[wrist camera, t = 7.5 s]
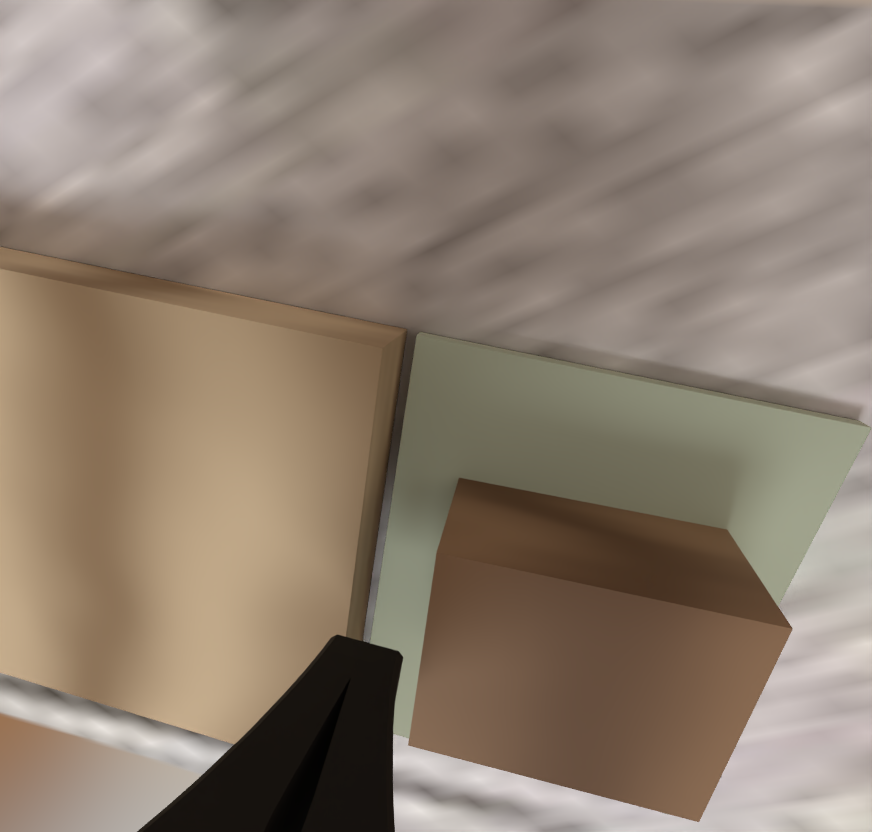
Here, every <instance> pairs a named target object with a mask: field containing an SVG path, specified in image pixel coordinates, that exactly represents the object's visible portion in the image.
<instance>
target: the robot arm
mask: <svg viewBox="0 0 872 832" xmlns="http://www.w3.org/2000/svg"><path fill="white" fill-rule="evenodd" d="M402 662H403V656H402V655H401V653H400V652H399V651H397V650H393V649H389V648H386V647H382V646H378V645H375V644H371V643H367V642H363V641H360V640H356V639H352V638H349V637H345V636H341V635H335V636H333V637H331V638H330V640H329V641H328V642H327V644H326V645H325V646H324V647H323V649H322V650H321V651H320V653H319V654H318V655H317V656H316V657H315V659H314V660H313V661H312V662H311V664H310V665H309V666H308V667H307V668H306V669H305V671H304V672H303V673H302V674H301V675H300V676H299V677H298V679H297V680H296V681H295V682H294V683H293V684H292V685H291V686H290V688H289V689H288V690H287V691H286V692H285V693H284V694H283V695H282V696H281V697H280V698H279V700H278V701H277V702H276V703H275V704H274V705H273V706H272V707H271V708H270V709H269V710H268V711H267V712H266V713H265V714H264V715H263V716H262V717H261V718H260V719H259V721H258V722H257V723H256V724H255V725H254V726H253V727H252V728H251V729H250V730H249V731H248V732H247V733H246V734H245V735H244V736H243V737H242V738H241V739H240V740H239V741H238V742H236V743H235V744H234V745H233V746H232V747H231V748H230V749H229V750H228V751H227V752H226V753H225V754H224V755H223V756H222V757H221V758H220V759H219V760H218V761H217V762H216V763H214V764H213V765H212V766H211V767H210V768H209V769H208V770H207V771H206V772H205V773H204V774H203V775H202V776H201V777H200V778H199V779H198V780H196V781H195V782H194V783H193V784H192V785H191V786H190V787H189V788H187V789H186V791H184V792H183V793H182V794H181V795H180V796H178V797H177V798H176V799H175V800H174V801H173V802H172V803H170V804H169V805H168V806H167V807H166V808H165V809H163V810H162V811H161V812H160V813H159V814H158V815H156V816H155V817H154V818H153V819H152V820H150V821H149V822H148V823H147V824H146V825H145V826H143V827H142V828H141V829H140V830H139V831H137V832H395V827H394V807H393V724H394V710H395V700H396V694H397V689H398V684H399V678H400V673H401V667H402Z"/></svg>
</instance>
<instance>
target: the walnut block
mask: <svg viewBox="0 0 872 832" xmlns="http://www.w3.org/2000/svg"><path fill="white" fill-rule="evenodd" d="M791 631H792V627H791V626H790V624H789V623H788V621H787V620H786V618H785V616H784V615H783V613H782V612H781V610H780V609H779V607H778V606H777V604H776V603H775V601H774V600H773V598H772V597H771V595H770V594H769V592H768V591H767V589H766V588H765V586H764V585H763V583H762V582H761V580H760V578H759V577H758V575H757V574H756V572H755V571H754V569H753V568H752V566H751V565H750V563H749V562H748V560H747V559H746V557H745V556H744V554H743V553H742V551H741V550H740V548H739V547H738V545H737V544H736V542H735V540H734V539H733V537H732V536H731V534H730V533H729V531H728V530H727V529H722V528H717V527H711V526H706V525H701V524H696V523H691V522H686V521H681V520H675V519H670V518H665V517H660V516H655V515H650V514H644V513H639V512H634V511H629V510H624V509H619V508H614V507H608V506H603V505H598V504H593V503H588V502H583V501H577V500H572V499H567V498H562V497H557V496H552V495H547V494H541V493H536V492H531V491H526V490H521V489H516V488H510V487H505V486H500V485H495V484H490V483H485V482H480V481H474V480H469V479H464V478H459V479H458V483H457V486H456V489H455V493H454V496H453V499H452V503H451V506H450V509H449V513H448V516H447V519H446V523H445V526H444V529H443V533H442V536H441V539H440V543H439V546H438V549H437V553H436V559H435V566H434V573H433V580H432V587H431V593H430V600H429V607H428V614H427V621H426V627H425V634H424V641H423V648H422V655H421V662H420V668H419V675H418V682H417V689H416V696H415V702H414V709H413V716H412V723H411V730H410V736H409V743H408V745H409V746H413V747H416V748H420V749H424V750H428V751H432V752H435V753H439V754H443V755H447V756H451V757H454V758H458V759H462V760H466V761H469V762H473V763H477V764H481V765H485V766H488V767H492V768H496V769H500V770H504V771H507V772H511V773H515V774H519V775H523V776H526V777H530V778H534V779H538V780H541V781H545V782H549V783H553V784H557V785H560V786H564V787H568V788H572V789H576V790H579V791H583V792H587V793H591V794H595V795H598V796H602V797H606V798H610V799H613V800H617V801H621V802H625V803H629V804H632V805H636V806H640V807H644V808H648V809H651V810H655V811H659V812H663V813H667V814H670V815H674V816H678V817H682V818H686V819H689V820H693V821H697V822H699V821H700V819H701V817H702V814H703V812H704V810H705V808H706V806H707V804H708V802H709V800H710V798H711V796H712V794H713V792H714V790H715V788H716V786H717V784H718V782H719V779H720V777H721V775H722V773H723V771H724V769H725V767H726V765H727V763H728V761H729V759H730V757H731V755H732V753H733V751H734V749H735V747H736V744H737V742H738V740H739V738H740V736H741V734H742V732H743V730H744V728H745V726H746V724H747V722H748V720H749V718H750V716H751V714H752V711H753V709H754V707H755V705H756V703H757V701H758V699H759V697H760V695H761V693H762V691H763V689H764V687H765V685H766V683H767V681H768V679H769V676H770V674H771V672H772V670H773V668H774V666H775V664H776V662H777V660H778V658H779V656H780V654H781V652H782V650H783V648H784V646H785V644H786V641H787V639H788V637H789V635H790V633H791Z"/></svg>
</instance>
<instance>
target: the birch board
mask: <svg viewBox="0 0 872 832" xmlns="http://www.w3.org/2000/svg"><path fill="white" fill-rule="evenodd" d="M406 335H407V329H404V328H399V327H394V326H389V325H384V324H379V323H374V322H369V321H364V320H359V319H354V318H349V317H344V316H339V315H334V314H330V313H325V312H320V311H315V310H310V309H305V308H300V307H295V306H290V305H285V304H280V303H275V302H270V301H265V300H260V299H255V298H251V297H246V296H241V295H236V294H231V293H226V292H221V291H216V290H211V289H206V288H201V287H196V286H191V285H186V284H181V283H177V282H172V281H167V280H162V279H157V278H152V277H147V276H142V275H137V274H132V273H127V272H122V271H117V270H112V269H107V268H103V267H98V266H93V265H88V264H83V263H78V262H73V261H68V260H63V259H58V258H53V257H48V256H43V255H38V254H33V253H29V252H24V251H19V250H14V249H9V248H4V247H0V673H4V674H7V675H10V676H14V677H17V678H20V679H23V680H27V681H30V682H33V683H36V684H40V685H43V686H46V687H49V688H53V689H56V690H59V691H62V692H66V693H69V694H72V695H76V696H79V697H82V698H85V699H89V700H92V701H95V702H98V703H102V704H105V705H108V706H111V707H115V708H118V709H121V710H125V711H128V712H131V713H134V714H138V715H141V716H144V717H147V718H151V719H154V720H157V721H160V722H164V723H167V724H170V725H173V726H177V727H180V728H183V729H187V730H190V731H193V732H196V733H200V734H203V735H206V736H209V737H213V738H216V739H219V740H222V741H226V742H229V743H232V744H235V743H236V742H238V741H239V740H240V739H241V738H242V737H243V736H244V735H245V734H246V733H247V732H248V731H249V730H250V729H251V728H252V727H253V726H254V725H255V724H256V723H257V722H258V721H259V719H260V718H261V717H262V716H263V715H264V714H265V713H266V712H267V711H268V710H269V709H270V708H271V707H272V706H273V705H274V704H275V703H276V702H277V701H278V700H279V698H280V697H281V696H282V695H283V694H284V693H285V692H286V691H287V690H288V689H289V688H290V686H291V685H292V684H293V683H294V682H295V681H296V680H297V679H298V677H299V676H300V675H301V674H302V673H303V672H304V671H305V669H306V668H307V667H308V666H309V665H310V664H311V662H312V661H313V660H314V659H315V657H316V656H317V655H318V654H319V653H320V651H321V650H322V649H323V647H324V646H325V645H326V644H327V642H328V641H329V640H330V638H331V637H333V636H335V635H341V636H345V637H349V638H352V639H356V640H360V641H362V640H363V633H364V626H365V619H366V612H367V605H368V598H369V591H370V585H371V578H372V571H373V564H374V557H375V550H376V543H377V536H378V529H379V522H380V515H381V508H382V501H383V494H384V487H385V480H386V473H387V466H388V460H389V453H390V446H391V439H392V432H393V425H394V418H395V411H396V404H397V397H398V390H399V383H400V376H401V369H402V362H403V355H404V348H405V341H406Z"/></svg>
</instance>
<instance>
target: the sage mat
mask: <svg viewBox="0 0 872 832" xmlns="http://www.w3.org/2000/svg"><path fill="white" fill-rule="evenodd" d="M870 430H871V427H869V426H867V425H866V424H864V423H862V422H860V421H857V420H853V419H848V418H843V417H838V416H833V415H828V414H823V413H818V412H813V411H808V410H803V409H798V408H793V407H788V406H783V405H779V404H774V403H769V402H764V401H759V400H754V399H749V398H744V397H739V396H734V395H729V394H724V393H719V392H714V391H709V390H704V389H700V388H695V387H690V386H685V385H680V384H675V383H670V382H665V381H660V380H655V379H650V378H645V377H640V376H635V375H630V374H626V373H621V372H616V371H611V370H606V369H601V368H596V367H591V366H586V365H581V364H576V363H571V362H566V361H561V360H556V359H552V358H547V357H542V356H537V355H532V354H527V353H522V352H517V351H512V350H507V349H502V348H497V347H492V346H487V345H482V344H478V343H473V342H468V341H463V340H458V339H453V338H448V337H443V336H438V335H433V334H428V333H423V332H420V333H418V334H417V335H416V342H415V348H414V355H413V361H412V368H411V375H410V381H409V388H408V394H407V401H406V408H405V414H404V421H403V427H402V434H401V441H400V447H399V454H398V460H397V467H396V474H395V480H394V487H393V493H392V500H391V507H390V513H389V520H388V526H387V533H386V540H385V546H384V553H383V559H382V566H381V573H380V579H379V586H378V592H377V599H376V606H375V612H374V619H373V625H372V632H371V639H370V643H371V644H375V645H378V646H382V647H386V648H389V649H393V650H397V651H399V652H400V653H401V655H402V656H403V662H402V667H401V673H400V678H399V684H398V689H397V694H396V700H395V710H394V724H393V734H396V735H399V736H403V737H406V738H409V736H410V730H411V723H412V716H413V709H414V702H415V696H416V689H417V682H418V675H419V668H420V662H421V655H422V648H423V641H424V634H425V627H426V621H427V614H428V607H429V600H430V593H431V587H432V580H433V573H434V566H435V559H436V553H437V549H438V546H439V543H440V539H441V536H442V533H443V529H444V526H445V523H446V519H447V516H448V513H449V509H450V506H451V503H452V499H453V496H454V493H455V489H456V486H457V483H458V479H459V478H464V479H469V480H474V481H480V482H485V483H490V484H495V485H500V486H505V487H510V488H516V489H521V490H526V491H531V492H536V493H541V494H547V495H552V496H557V497H562V498H567V499H572V500H577V501H583V502H588V503H593V504H598V505H603V506H608V507H614V508H619V509H624V510H629V511H634V512H639V513H644V514H650V515H655V516H660V517H665V518H670V519H675V520H681V521H686V522H691V523H696V524H701V525H706V526H711V527H717V528H722V529H727V530H728V531H729V533H730V534H731V536H732V537H733V539H734V540H735V542H736V544H737V545H738V547H739V548H740V550H741V551H742V553H743V554H744V556H745V557H746V559H747V560H748V562H749V563H750V565H751V566H752V568H753V569H754V571H755V572H756V574H757V575H758V577H759V578H760V580H761V582H762V583H763V585H764V586H765V588H766V589H767V591H768V592H769V594H770V595H771V597H772V598H773V600H774V601H775V603H776V604H777V606H779V604H780V602H781V600H782V598H783V596H784V594H785V592H786V590H787V588H788V587H789V585H790V583H791V581H792V579H793V577H794V575H795V573H796V571H797V569H798V567H799V566H800V564H801V562H802V560H803V558H804V556H805V554H806V552H807V550H808V548H809V546H810V545H811V543H812V541H813V539H814V537H815V535H816V533H817V531H818V529H819V527H820V526H821V524H822V522H823V520H824V518H825V516H826V514H827V512H828V510H829V508H830V506H831V505H832V503H833V501H834V499H835V497H836V495H837V493H838V491H839V489H840V487H841V485H842V484H843V482H844V480H845V478H846V476H847V474H848V472H849V470H850V468H851V466H852V465H853V463H854V461H855V459H856V457H857V455H858V453H859V451H860V449H861V447H862V445H863V444H864V442H865V440H866V438H867V436H868V434H869V432H870ZM662 813H663V812H662ZM665 814H667V813H665Z"/></svg>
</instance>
